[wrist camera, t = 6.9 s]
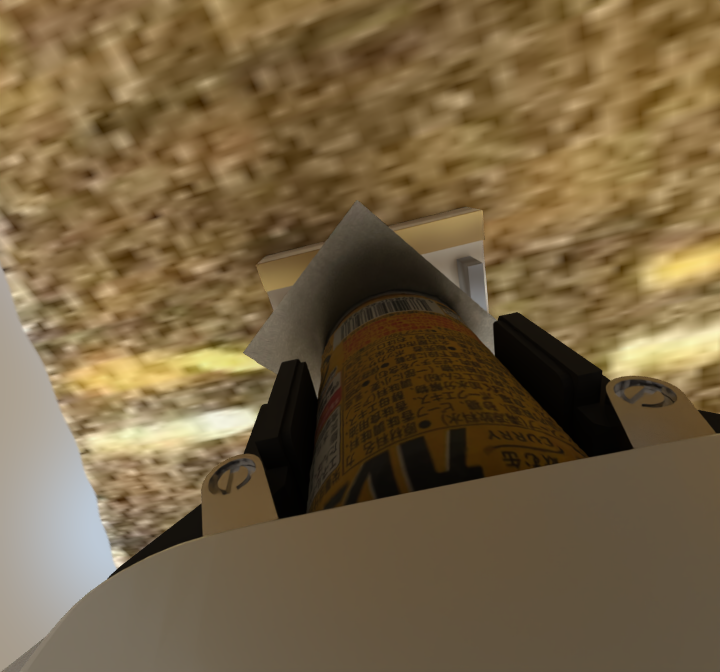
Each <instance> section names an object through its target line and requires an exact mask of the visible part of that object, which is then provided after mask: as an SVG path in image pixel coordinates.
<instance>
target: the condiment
mask: <svg viewBox="0 0 720 672" xmlns="http://www.w3.org/2000/svg"><path fill="white" fill-rule="evenodd" d="M495 321H497V320H496V319H495V318H494V317H492V316H491V315H490V314H489V313H488V312H487V311H485V310H484V309H483V308H482V307H481V306H480V305H479V304H477V303H476V302H475V301H474V300H473V299H472V298H470V297H469V296H468V295H467V294H466V293H465V292H463V291H462V290H461V289H460V288H459V287H458V286H456V285H455V284H454V283H453V282H452V281H451V280H449V279H448V278H447V277H446V276H445V275H444V274H443V273H441V272H440V271H439V270H438V269H437V268H436V267H434V266H433V265H432V264H431V263H430V262H429V261H427V260H426V259H425V258H424V257H423V256H422V255H420V254H419V253H418V252H417V251H416V250H415V249H414V248H413V247H411V246H410V245H409V244H408V243H407V242H405V241H404V240H403V239H402V238H401V237H400V236H399V235H397V234H396V233H395V232H394V231H393V230H391V229H390V228H389V227H388V226H387V225H386V224H384V223H383V222H382V221H381V220H380V219H379V218H378V217H376V216H375V215H374V214H373V213H372V212H371V211H369V210H368V209H367V208H366V207H365V206H364V205H362V204H361V203H360V202H359V201H358V200H357V201H356V202H355V203H354V204H353V206H352V207H351V208H350V210H349V211H348V212H347V214H346V215H345V216H344V218H343V220H342V221H341V222H340V223H339V224H338V226H337V227H336V228H335V230H334V231H333V232H332V234H331V235H330V236H329V238H328V239H327V240H326V242H325V243H324V244H323V246H322V247H321V248H320V250H319V251H318V253H317V254H316V255H315V257H314V258H313V259H312V260H311V262H310V263H309V265H308V266H307V267H306V269H305V270H304V271H303V273H302V274H301V275H300V277H299V278H298V279H297V281H296V282H295V283H294V285H293V286H292V287H291V289H290V290H289V291H288V292H287V294H286V295H285V296H284V298H283V299H282V301H281V302H280V304H279V305H278V306H277V308H276V309H275V311H274V312H273V313H272V314H271V316H270V317H269V318H268V320H267V321H266V322H265V324H264V325H263V326H262V328H261V329H260V331H259V332H258V333H257V335H256V336H255V337H254V339H253V340H252V341H251V343H250V344H249V345H248V347H247V348H246V349H245V351H244V352H243V353H244V354H246V355H247V356H249V357H250V358H252V359H254V360H255V361H256V362H257V363H259V364H261V365H262V366H264V367H266V368H267V369H269V370H271V371H273V372H274V373H276V374H278V371H279V368H280V365H281V363H282V362H285V361H289V360H294V359H299V360H300V362H306V363H307V366H308V369H309V372H310V376H311V379H312V382H313V385H314V389H315V392H316V395H317V399H318V402H317V403H318V406H317V415H316V430H315V436H314V450H313V460H312V465H311V469H310V473H309V475H310V482H309V492H308V501H307V510H306V513H311V512H316V511H321V510H326V509H331V508H336V507H341V506H346V505H351V504H356V503H360V502H365V501H370V500H375V499H380V498H386V497H391V496H396V495H401V494H406V493H411V492H416V491H421V490H426V489H431V488H436V487H441V486H446V485H451V484H456V483H461V482H466V481H471V480H476V479H481V478H486V477H492V476H497V475H502V474H507V473H512V472H517V471H522V470H527V469H533V468H538V467H543V466H548V465H553V464H558V463H563V462H568V461H574V460H579V459H584V458H589V457H588V456H587V455H586V453H585V452H584V451H583V450H581V449H580V448H579V447H578V445H577V444H576V443H574V442H573V440H572V439H571V438H570V437H569V435H568V434H566V433H565V432H564V431H563V429H562V428H561V427H560V426H559V425H557V423H556V421H555V420H554V419H553V418H552V417H550V416H549V415H548V413H547V412H546V411H545V410H543V408H542V407H541V406H540V405H539V403H538V402H537V401H536V400H535V399H533V397H532V396H531V395H530V394H529V392H528V391H526V390H525V389H524V388H523V386H522V385H521V384H520V383H519V382H518V381H517V380H516V379H515V378H514V376H513V375H512V374H511V373H510V372H509V370H507V368H506V367H505V366H504V365H503V364H502V363H501V362H500V361H499V360H498V359H497V358H496V357H495V353H494V335H493V323H494V322H495Z"/></svg>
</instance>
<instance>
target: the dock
mask: <svg viewBox="0 0 720 672" xmlns="http://www.w3.org/2000/svg"><path fill="white" fill-rule="evenodd" d="M388 227H389V228H390V229H391V230H393V231H394V232H395V233H396V234H397V235H399V236H400V237H401V238H402V239H403V240H404V241H405V242H407V243H408V244H409V245H410V246H411V247H413V248H414V249H415V250H416V251H417V252H418V253H419V254H420V255H422V256H423V257H424V258H425V259H426V260H427V261H429V262H430V263H431V264H432V265H433V266H434V267H436V268H437V269H438V270H439V271H440V272H441V273H443V274H444V275H445V276H446V277H447V278H448V279H449V280H451V281H452V282H453V283H454V284H455V285H456V286H458V287H459V288H460V289H461V290H462V291H463V292H465V293H466V294H467V295H468V296H469V297H470V298H472V299H473V300H474V301H475V302H476V303H477V304H479V305H480V306H481V307H482V308H483V309H484V310H485V311H487V312H488V313H489V311H488V298H487V286H486V274H485V261H484V249H483V240H485V236H484V223H483V210H480V209H474V208H469V207H464V208H460V209H456V210H452V211H448V212H443V213H439V214H435V215H431V216H427V217H423V218H419V219H415V220H411V221H407V222H403V223H398V224H394V225H390V226H388ZM325 242H326V241H325ZM325 242H321V243H317V244H313V245H308V246H304V247H300V248H296V249H292V250H288V251H284V252H280V253H276V254H272V255H267V256H265V257H264V258H263V259H262V260H261V261H260V262H259V263H258V264H257V265H256V267H257V270H258V273H259V276H260V278H261V281H262V284H263V287H264V290H265V292H267V293H268V296H269V299H270V302H271V305H272V308H273V310H274V311H275V309H276V308H277V306H278V305H279V304H280V302H281V301H282V299H283V298H284V296H285V295H286V294H287V292H288V291H289V290H290V289H291V287H292V286H293V285H294V283H295V282H296V281H297V279H298V278H299V277H300V275H301V274H302V273H303V271H304V270H305V269H306V267H307V266H308V265H309V263H310V262H311V260H312V259H313V258H314V257H315V255H316V254H317V253H318V251H319V250H320V248H321V247H322V246H323V244H324V243H325Z"/></svg>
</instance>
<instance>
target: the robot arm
mask: <svg viewBox="0 0 720 672" xmlns="http://www.w3.org/2000/svg"><path fill="white" fill-rule="evenodd" d="M493 335H494V353H495V357H496V358H497V359H498V360H499V361H500V362H501V363H502V364H503V365H504V366H505V367H506V368H507V370H509V372H510V373H511V374H512V375H513V376H514V378H515V379H516V380H517V381H518V382H519V383H520V384H521V385H522V386H523V388H524V389H525V390H526V391H528V392H529V394H530V395H531V396H532V397H533V399H535V400H536V401H537V402H538V403H539V405H540V406H541V407H542V408H543V410H545V411H546V412H547V413H548V415H549V416H550V417H552V418H553V419H554V420H555V421H556V423H557V425H559V426H560V427H561V428H562V429H563V431H564V432H565V433H566V434H568V435H569V437H570V438H571V439H572V440H573V442H574V443H576V444H577V445H578V447H579V448H580V449H581V450H583V451H584V452H585V453H586V455H587V456H588V457H589V458H584V459H579V460H574V461H568V462H563V463H558V464H553V465H548V466H543V467H538V468H533V469H527V470H522V471H517V472H512V473H507V474H502V475H497V476H492V477H486V478H481V479H476V480H471V481H466V482H461V483H456V484H451V485H446V486H441V487H436V488H431V489H426V490H421V491H416V492H411V493H406V494H401V495H396V496H391V497H386V498H380V499H375V500H370V501H365V502H360V503H356V504H351V505H346V506H341V507H336V508H331V509H326V510H321V511H316V512H311V513H306V510H307V501H308V492H309V482H310V475H309V473H310V469H311V465H312V460H313V450H314V436H315V430H316V415H317V406H318V403H317V402H318V399H317V395H316V392H315V389H314V385H313V382H312V379H311V376H310V372H309V369H308V366H307V363H306V362H300V360H299V359H294V360H289V361H285V362H282V363H281V365H280V368H279V371H278V374H277V377H276V380H275V383H274V386H273V389H272V392H271V395H270V398H269V401H268V404H264V405H262V406H261V408H260V411H259V413H258V416H257V419H256V422H255V424H254V427H253V430H252V433H251V435H250V438H249V441H248V444H247V446H246V449H245V452H244V454H241V455H237V456H234V457H231V458H229V459H227V460H225V461H223V462H221V463H220V464H219V465H217V466H216V467H215V468H213V469H212V471H211V472H210V473H209V474H208V475H207V476H206V478H205V480H204V482H203V484H202V489H201V498H202V504H200V505H199V506H198V507H196V508H195V509H194V510H193V511H191V512H190V513H189V514H187V515H186V516H185V517H184V518H182V519H181V520H180V521H178V522H177V523H176V524H174V525H173V526H172V527H171V528H169V529H168V530H167V531H165V532H164V533H163V534H161V535H160V536H159V537H158V538H156V539H155V540H154V541H152V542H151V543H150V544H149V545H147V546H146V547H145V548H143V549H142V550H141V551H139V552H138V553H137V554H136V555H134V556H133V557H132V558H130V559H129V560H128V561H126V562H125V563H124V564H123V565H121V566H120V567H119V568H118V569H117V570H116V571H115V572H114V573H112V574H111V575H110V576H109V578H108V579H107V580H106V581H104V582H103V583H101V584H100V585H98V586H97V587H96V588H94V589H93V590H91V591H90V592H89V593H88V594H87V595H85V596H84V597H83V598H82V599H81V600H80V601H78V602H77V603H76V604H75V605H74V606H73V607H72V608H71V609H70V610H69V611H68V612H67V613H66V614H65V615H64V617H62V618H61V620H60V621H59V622H58V623H57V624H56V625H55V627H54V628H53V629H52V630H51V631H50V633H49V634H48V635H47V636H46V637H45V638H44V639H42V640H41V641H40V642H39V643H37V644H36V645H35V646H33V647H32V648H31V649H30V650H28V651H27V652H26V653H25V654H23V655H22V656H21V657H20V658H18V659H17V660H16V661H15V662H13V663H12V664H11V665H9V666H8V667H7V668H5V669H4V670H3V671H2V672H720V414H716V413H711V412H706V411H701V410H697V409H696V408H695V406H694V405H693V404H692V403H691V401H690V400H689V399H688V398H687V396H686V395H685V394H684V393H683V392H682V391H681V390H680V389H679V388H677V387H675V386H673V385H672V384H670V383H668V382H665V381H662V380H658V379H655V378H649V377H643V376H625V377H619V378H616V379H613V380H611V381H610V380H609V379H608V378H606V377H605V376H603V375H602V370H601V369H599V368H598V367H596V366H595V365H594V364H592V363H591V362H589V361H588V360H586V359H585V358H583V357H582V356H581V355H579V354H578V353H576V352H575V351H573V350H572V349H570V348H569V347H567V346H566V345H565V344H563V343H562V342H560V341H559V340H557V339H556V338H554V337H553V336H552V335H550V334H549V333H547V332H546V331H544V330H543V329H541V328H540V327H539V326H537V325H536V324H534V323H533V322H531V321H530V320H528V319H527V318H525V317H524V316H523V315H521V314H520V313H518V312H516V313H511V314H507V315H502V316H499V318H498V321H495V322H494V323H493Z"/></svg>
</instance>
